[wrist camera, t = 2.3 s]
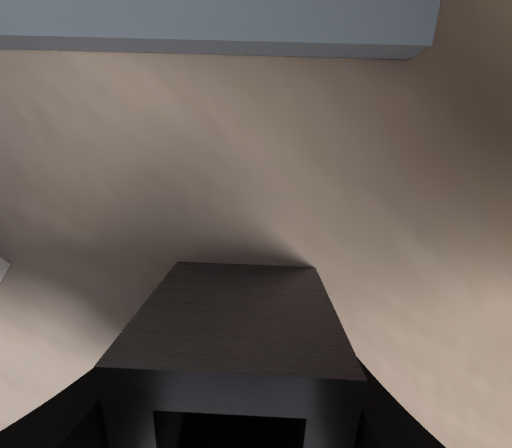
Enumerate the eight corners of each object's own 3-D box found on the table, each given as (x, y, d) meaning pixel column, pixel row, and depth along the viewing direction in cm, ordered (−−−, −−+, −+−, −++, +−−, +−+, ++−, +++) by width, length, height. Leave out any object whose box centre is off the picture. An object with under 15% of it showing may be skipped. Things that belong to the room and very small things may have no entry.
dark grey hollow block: (315, 267, 10) (367, 380, 5) (303, 376, 11) (333, 545, 6) (177, 261, 10) (93, 366, 5) (184, 370, 11) (125, 532, 6)
